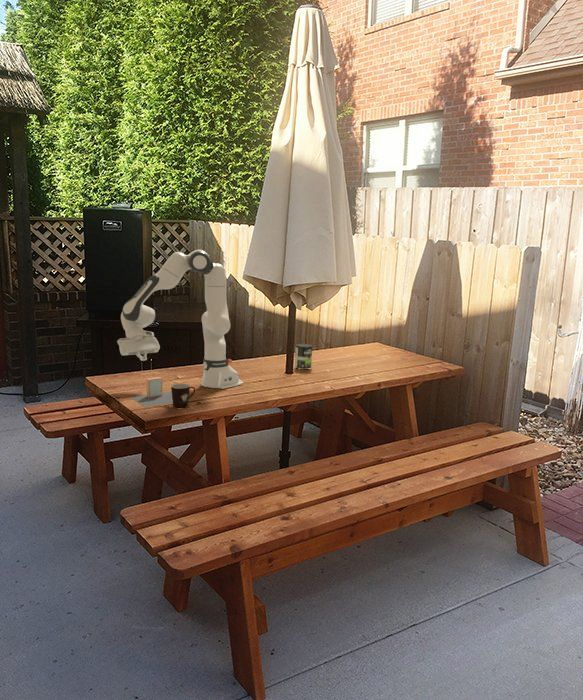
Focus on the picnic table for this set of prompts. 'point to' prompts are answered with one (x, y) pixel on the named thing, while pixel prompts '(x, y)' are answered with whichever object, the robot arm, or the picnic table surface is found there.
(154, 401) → the mat
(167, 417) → the picnic table surface
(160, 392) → the light orange block
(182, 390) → the coffee mug
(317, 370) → the picnic table surface
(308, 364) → the coffee can
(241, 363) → the picnic table surface
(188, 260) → the robot arm
